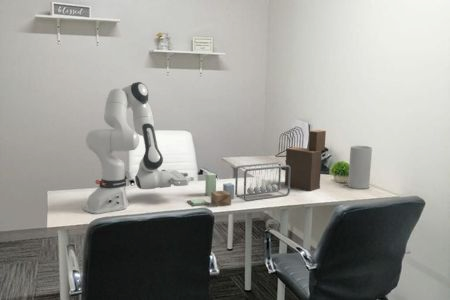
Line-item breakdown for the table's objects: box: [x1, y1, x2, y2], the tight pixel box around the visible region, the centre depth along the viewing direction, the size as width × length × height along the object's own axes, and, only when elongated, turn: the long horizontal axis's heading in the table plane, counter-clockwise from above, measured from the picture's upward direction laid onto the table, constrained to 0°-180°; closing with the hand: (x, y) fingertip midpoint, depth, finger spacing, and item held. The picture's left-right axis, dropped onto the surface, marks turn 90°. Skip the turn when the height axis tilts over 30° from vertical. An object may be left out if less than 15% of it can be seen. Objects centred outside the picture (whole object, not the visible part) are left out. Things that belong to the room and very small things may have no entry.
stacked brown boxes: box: [284, 129, 327, 192], centre depth 256 cm, size 19×14×35 cm
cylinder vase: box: [347, 145, 373, 190], centre depth 258 cm, size 12×12×25 cm
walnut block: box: [210, 190, 232, 208], centre depth 219 cm, size 8×8×6 cm
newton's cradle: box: [234, 161, 291, 202], centre depth 233 cm, size 30×10×18 cm, turn 118°
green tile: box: [186, 198, 210, 207], centre depth 219 cm, size 9×9×1 cm
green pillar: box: [205, 172, 217, 197], centre depth 235 cm, size 4×4×12 cm
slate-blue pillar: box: [222, 182, 235, 201], centre depth 228 cm, size 4×4×8 cm
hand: (190, 176), depth 230 cm, fingers open, 8 cm apart
